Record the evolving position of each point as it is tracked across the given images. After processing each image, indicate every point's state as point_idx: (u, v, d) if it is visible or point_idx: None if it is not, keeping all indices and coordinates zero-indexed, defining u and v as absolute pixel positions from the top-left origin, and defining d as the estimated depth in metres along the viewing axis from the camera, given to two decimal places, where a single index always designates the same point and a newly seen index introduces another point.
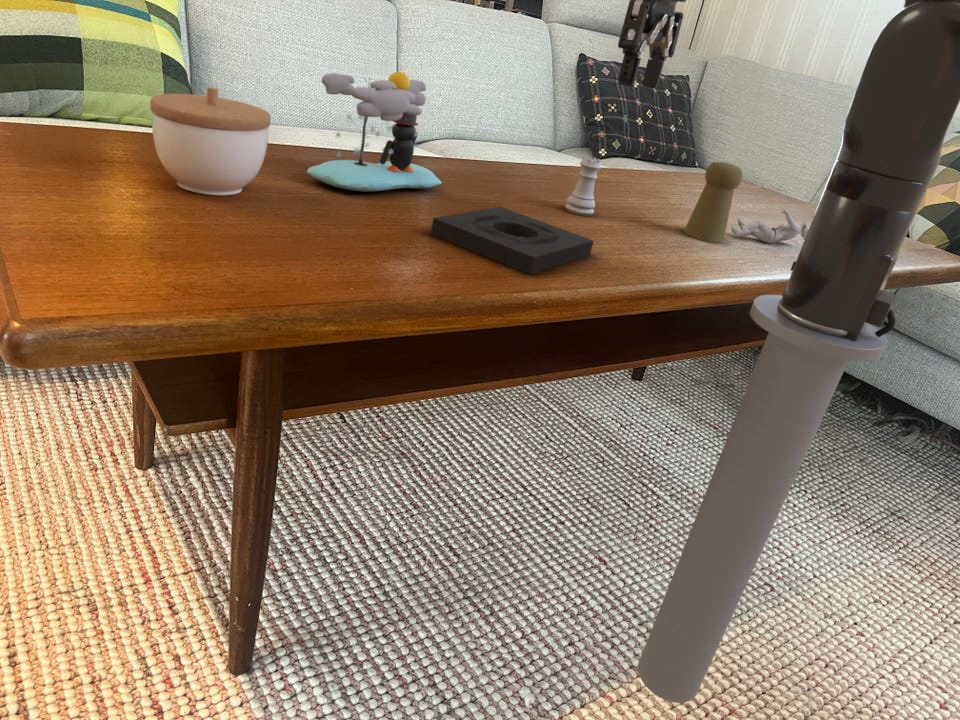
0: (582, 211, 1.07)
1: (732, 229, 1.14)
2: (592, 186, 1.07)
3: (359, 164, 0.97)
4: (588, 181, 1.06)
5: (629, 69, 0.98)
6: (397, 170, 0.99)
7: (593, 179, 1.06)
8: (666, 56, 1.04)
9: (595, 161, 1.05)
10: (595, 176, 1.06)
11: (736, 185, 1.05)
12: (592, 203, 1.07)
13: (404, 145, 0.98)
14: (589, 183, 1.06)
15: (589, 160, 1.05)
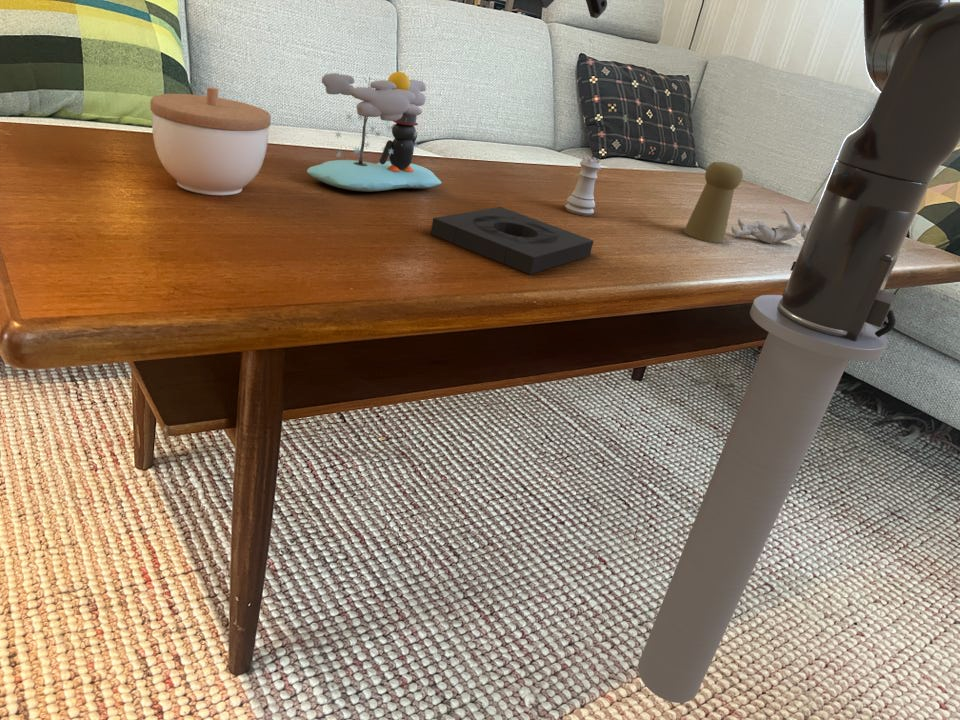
0: (582, 211, 1.07)
1: (732, 229, 1.14)
2: (592, 186, 1.07)
3: (359, 164, 0.97)
4: (588, 181, 1.06)
5: None
6: (397, 170, 0.99)
7: (593, 179, 1.06)
8: None
9: (595, 161, 1.05)
10: (595, 176, 1.06)
11: (736, 185, 1.05)
12: (592, 203, 1.07)
13: (404, 144, 0.98)
14: (589, 183, 1.06)
15: (589, 160, 1.05)
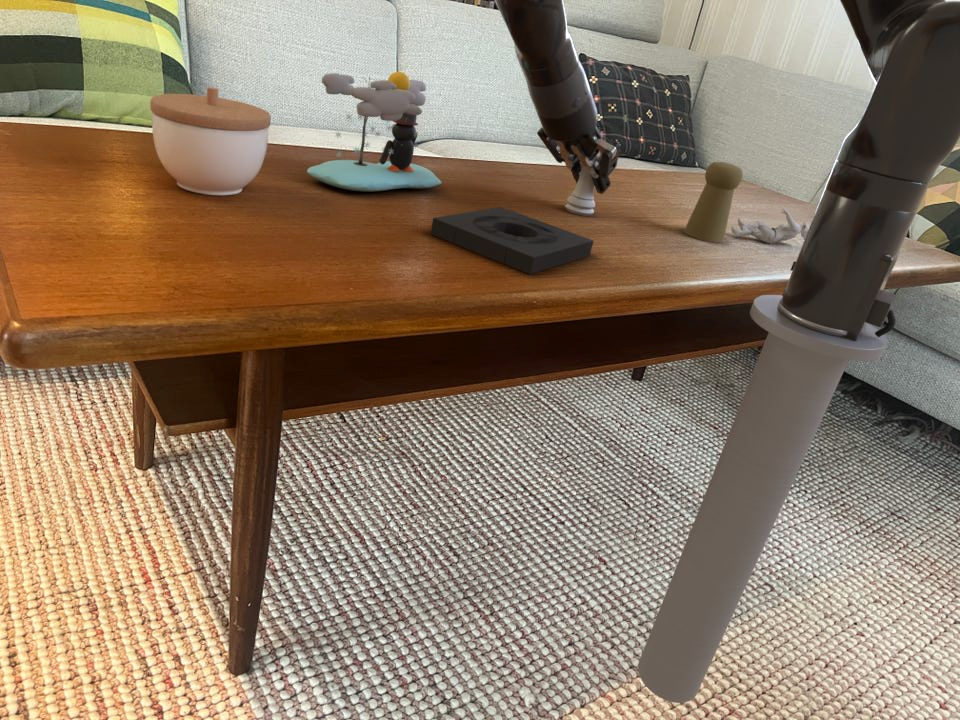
0: (582, 211, 1.07)
1: (732, 229, 1.14)
2: (592, 186, 1.07)
3: (359, 164, 0.97)
4: (588, 181, 1.06)
5: (607, 179, 1.06)
6: (397, 170, 0.99)
7: None
8: None
9: None
10: None
11: (736, 185, 1.05)
12: (592, 203, 1.07)
13: (404, 144, 0.98)
14: (589, 183, 1.06)
15: None
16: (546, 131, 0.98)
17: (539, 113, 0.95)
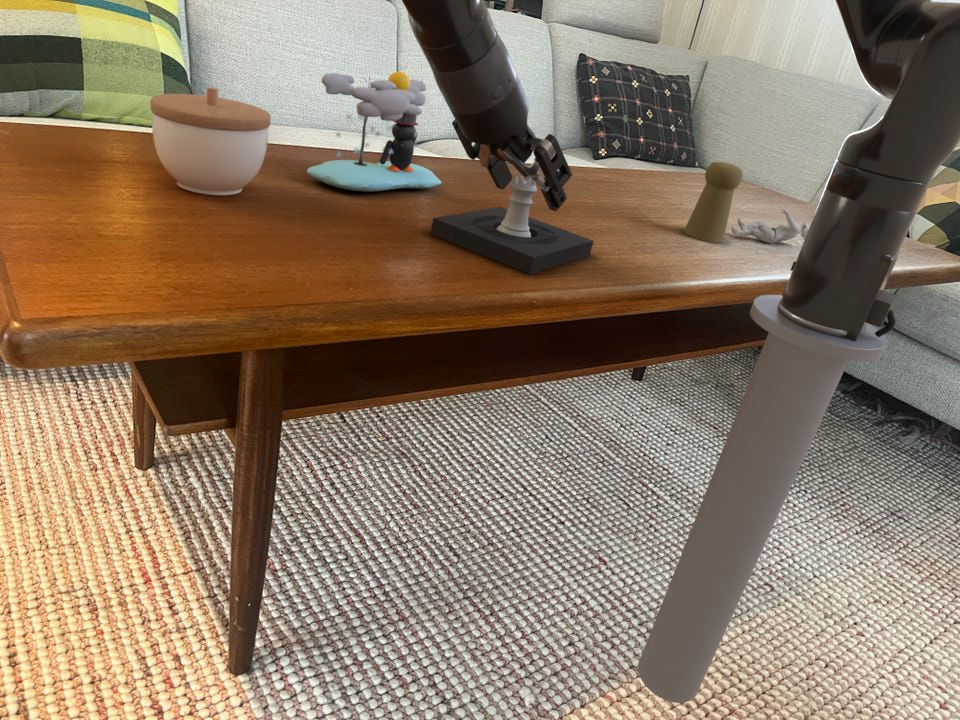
0: None
1: (732, 229, 1.14)
2: (526, 214, 0.84)
3: (359, 164, 0.97)
4: (520, 207, 0.83)
5: (562, 192, 0.80)
6: (397, 170, 0.99)
7: (527, 205, 0.84)
8: None
9: (528, 183, 0.82)
10: (529, 201, 0.84)
11: (736, 185, 1.05)
12: (526, 235, 0.85)
13: (404, 144, 0.98)
14: (521, 210, 0.84)
15: (520, 181, 0.82)
16: (462, 131, 0.75)
17: (450, 107, 0.72)
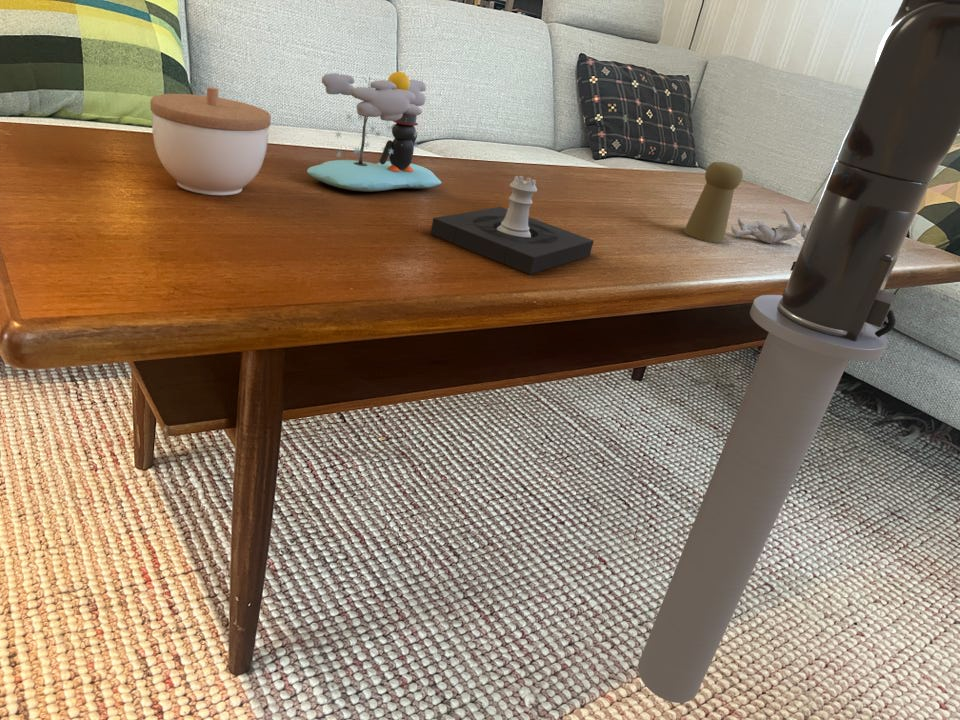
0: None
1: (732, 229, 1.14)
2: (526, 214, 0.84)
3: (359, 164, 0.97)
4: (520, 207, 0.83)
5: None
6: (397, 170, 0.99)
7: (527, 205, 0.84)
8: None
9: (528, 183, 0.82)
10: (529, 201, 0.84)
11: (736, 185, 1.05)
12: (526, 235, 0.85)
13: (404, 144, 0.98)
14: (521, 210, 0.84)
15: (520, 181, 0.82)
16: None
17: None
